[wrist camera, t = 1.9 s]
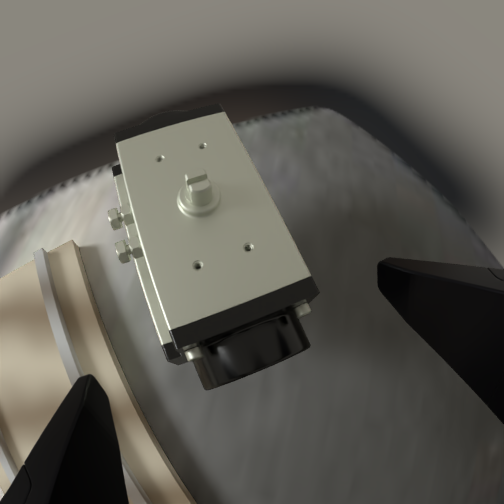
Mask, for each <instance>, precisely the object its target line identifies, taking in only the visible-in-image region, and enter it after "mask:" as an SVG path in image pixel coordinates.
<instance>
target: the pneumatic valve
mask: <svg viewBox="0 0 504 504" xmlns="http://www.w3.org/2000/svg"><path fill="white" fill-rule="evenodd" d="M114 137H115V142H116V147H117V152H118V156H119V161H120V164H119V165H116V166H114V167H112V171H113V176H114V181H115V186H116V190H117V195H118V199H119V204H120V211H121V212H120V213H118V210H117V208H114V209H111V210H109V211H108V217H109V220H110V223H111V226H112V228H113V230H117V229H120V228H122V227H123V226H122V221H124V224H125V228H126V232H127V236H128V243H129V245H126V243H125V240H122V241H120V242H117V243H115V247H116V251H117V255H118V257H119V260H120V261H121V263H122V264H123V263H127V262H129V261H131V257H130V254H132V255H133V258H134V262H135V265H136V269H137V272H138V276H139V279H140V282H141V286H142V289H143V292H144V295H145V299H146V302H147V305H148V308H149V311H150V314H151V317H152V320H153V323H154V326H155V329H156V331H157V334H158V337H159V340H160V343H161V345H162V348H163V351H164V354H165V356H166V359H167V361H168V362H171V363H173V364H176V365H181V364H184V363H186V362H190V361H193V363H194V366H195V368H196V371H197V373H198V376H199V378H200V381H201V383H202V385H203V388H204V389H205V390H211V389H214V388H217V387H220V386H222V385H225V384H228V383H230V382H233V381H236V380H238V379H241V378H243V377H246V376H248V375H251V374H253V373H256V372H258V371H261V370H263V369H265V368H268V367H270V366H272V365H275V364H277V363H279V362H281V361H284V360H286V359H288V358H290V357H292V356H294V355H296V354H299V353H301V352H303V351H305V350H307V349H308V348H310V346H311V345H310V343H309V340H308V338H307V336H306V334H305V332H304V330H303V327H302V325H301V323H300V321H299V319H298V318H301V317H303V316H305V315H307V314H309V313H310V312H311V309H310V307H309V305H308V304H309V303H310V302H311V301H312V300H313V299H314V298H315V297H316V296H317V295H318V294H319V293H320V292H319V290H318V288H317V286H316V284H315V282H314V280H313V278H312V276H311V274H310V272H309V270H308V268H307V266H306V264H305V262H304V260H303V258H302V256H301V254H300V252H299V250H298V248H297V246H296V244H295V242H294V240H293V238H292V236H291V234H290V232H289V230H288V228H287V226H286V224H285V222H284V220H283V218H282V217H281V215H280V213H279V211H278V209H277V207H276V205H275V203H274V201H273V199H272V197H271V196H270V194H269V192H268V190H267V188H266V186H265V184H264V182H263V180H262V179H261V177H260V175H259V173H258V171H257V169H256V167H255V166H254V164H253V162H252V160H251V158H250V156H249V155H248V153H247V151H246V149H245V147H244V145H243V144H242V142H241V140H240V138H239V136H238V135H237V133H236V131H235V129H234V127H233V126H232V124H231V122H230V120H229V119H228V117H227V115H226V113H225V111H224V110H223V108H222V106H221V104H215V105H210V106H206V107H201V108H198V109H194V110H190V111H180V110H179V111H178V110H177V111H167V112H163V113H160V114H157V115H155V116H153V117H151V118H149V119H147V120H146V121H144V122H143V123H142V124H140V125H138V126H135V127H132V128H129V129H126V130H123V131H120V132H117V133H115V134H114Z"/></svg>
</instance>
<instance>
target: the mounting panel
mask: <svg viewBox="0 0 504 504" xmlns="http://www.w3.org/2000/svg"><path fill="white" fill-rule="evenodd" d="M33 254H34V260H32V261H31V262H29V263H27V264H25V265H23V266H21V267H20V268H18V269H16V270H14V271H13V272H11V273H9V274H7V275H6V276H4V277H2V278H0V487H1V489H2V491H3V493H4V495H5V493H6V492H7V490H8V489H9V487H10V485H11V484H12V482H13V480H14V479H15V477H16V475H17V474H18V472H19V470H20V468H21V467H22V465H23V464H24V462H25V460H26V458H27V457H28V455H29V453H30V452H31V450H32V448H33V447H34V445H35V443H36V442H37V440H38V439H39V437H40V435H41V434H42V432H43V431H44V429H45V427H46V426H47V424H48V423H49V421H50V420H51V418H52V416H53V415H54V413H55V412H56V410H57V409H58V407H59V406H60V404H61V403H62V401H63V400H64V398H65V397H66V395H67V394H68V392H69V391H70V389H71V388H72V386H73V385H74V383H75V382H76V380H77V379H78V378H79V377H81V376H84V375H87V374H92V375H93V376H94V377H95V378H96V379H97V381H98V382H99V384H100V385H101V387H102V388H103V389H104V391H105V392H106V394H107V396H108V398H109V402H110V407H111V412H112V416H113V421H114V425H115V429H116V433H117V438H118V442H119V447H120V453H121V460H122V467H123V473H124V479H125V484H126V490H127V495H128V500H129V504H197V503H196V501H195V500H194V499H193V497H192V496H191V494H190V493H189V491H188V490H187V488H186V487H185V485H184V484H183V482H182V481H181V479H180V477H179V476H178V474H177V473H176V471H175V469H174V468H173V466H172V465H171V463H170V461H169V460H168V458H167V456H166V455H165V453H164V451H163V449H162V448H161V446H160V444H159V442H158V441H157V439H156V437H155V435H154V433H153V432H152V430H151V428H150V426H149V424H148V422H147V420H146V418H145V417H144V415H143V413H142V411H141V409H140V407H139V405H138V403H137V401H136V399H135V397H134V395H133V392H132V390H131V388H130V386H129V384H128V382H127V380H126V377H125V375H124V373H123V371H122V368H121V366H120V364H119V362H118V359H117V357H116V355H115V352H114V350H113V347H112V345H111V342H110V340H109V337H108V335H107V332H106V330H105V327H104V324H103V322H102V319H101V316H100V314H99V311H98V308H97V305H96V302H95V299H94V296H93V293H92V290H91V287H90V284H89V281H88V278H87V275H86V272H85V268H84V265H83V261H82V258H81V254H80V251H79V247H78V246H77V245H76V244H75V242H74V241H73V240H71V241H69V242H67V243H65V244H63V245H61V246H59V247H57V248H55V249H53V250H51V251H49V252H46V251H45V250H44V249H43V248H41V249H39V250H38V251H36V252H34V253H33ZM24 465H25V464H24Z"/></svg>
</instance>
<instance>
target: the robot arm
mask: <svg viewBox="0 0 504 504" xmlns="http://www.w3.org/2000/svg"><path fill="white" fill-rule="evenodd" d="M377 277H378V288H379V290H380V291H381V293H382V294H383V295H384V296H385V297H386V299H387V300H388V301H389V302H390V303H391V305H392V306H393V307H394V308H395V309H396V310H397V312H398V313H399V314H400V315H401V316H402V318H403V319H404V320H405V321H406V322H407V323H408V324H409V325H410V326H411V327H412V328H413V329H414V330H415V331H416V332H417V333H418V334H419V335H420V336H421V337H422V338H423V339H424V340H425V341H426V342H427V343H428V344H429V345H430V346H431V347H432V348H433V349H434V350H435V351H436V352H437V353H438V354H439V355H440V356H441V357H442V358H443V359H444V360H445V361H446V362H447V364H448V365H449V366H450V367H451V368H452V369H453V370H454V371H455V372H456V373H457V374H458V375H459V376H460V377H461V378H462V379H463V380H464V381H465V382H466V383H467V384H468V385H469V387H470V388H471V389H472V390H473V391H474V392H475V393H476V394H477V395H478V396H479V397H480V398H481V399H482V401H483V402H484V403H485V404H486V405H487V406H488V407H489V408H490V410H491V411H492V412H493V413H494V414H495V415H496V416H497V417H498V418H499V420H500V421H501V422H502V423H503V424H504V269H495V268H485V267H476V266H467V265H458V264H449V263H439V262H430V261H420V260H411V259H401V258H391V257H389V258H386V259H384V260H382V261H380V262H379V263H378V265H377ZM24 464H25V465H24ZM24 464H23V465H22V467H21V468H20V470H19V472H18V474H17V475H16V477H15V479H14V480H13V482H12V484H11V485H10V487H9V489H8V490H7V492H6V493H5V495H4V496H3V498H2V499H1V501H0V504H129V500H128V495H127V490H126V484H125V479H124V473H123V467H122V460H121V453H120V447H119V442H118V438H117V433H116V429H115V425H114V421H113V416H112V412H111V407H110V402H109V398H108V396H107V394H106V392H105V391H104V389H103V388H102V387H101V385H100V384H99V382H98V381H97V379H96V378H95V377H94V376H93V375H92V374H87V375H84V376H81V377H79V378H78V379H77V380H76V382H75V383H74V385H73V386H72V388H71V389H70V391H69V392H68V394H67V395H66V397H65V398H64V400H63V401H62V403H61V404H60V406H59V407H58V409H57V410H56V412H55V413H54V415H53V416H52V418H51V420H50V421H49V423H48V424H47V426H46V427H45V429H44V431H43V432H42V434H41V435H40V437H39V439H38V440H37V442H36V443H35V445H34V447H33V448H32V450H31V452H30V453H29V455H28V457H27V458H26V460H25V462H24Z"/></svg>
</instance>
